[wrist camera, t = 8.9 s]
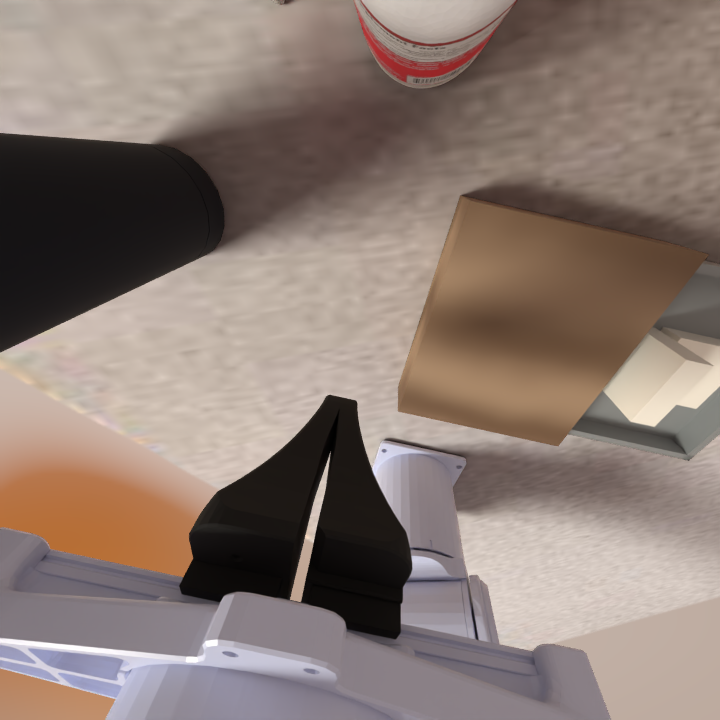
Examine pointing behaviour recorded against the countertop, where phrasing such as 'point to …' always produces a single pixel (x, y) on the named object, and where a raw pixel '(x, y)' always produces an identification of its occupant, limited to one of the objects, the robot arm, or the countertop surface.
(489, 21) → the pill bottle
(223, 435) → the countertop surface
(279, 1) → the coffee box
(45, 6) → the countertop surface
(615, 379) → the tile
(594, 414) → the tray
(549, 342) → the board
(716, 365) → the tile
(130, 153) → the black water bottle
